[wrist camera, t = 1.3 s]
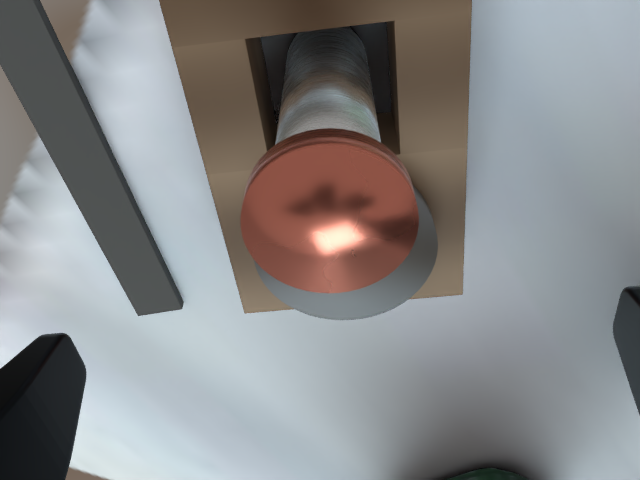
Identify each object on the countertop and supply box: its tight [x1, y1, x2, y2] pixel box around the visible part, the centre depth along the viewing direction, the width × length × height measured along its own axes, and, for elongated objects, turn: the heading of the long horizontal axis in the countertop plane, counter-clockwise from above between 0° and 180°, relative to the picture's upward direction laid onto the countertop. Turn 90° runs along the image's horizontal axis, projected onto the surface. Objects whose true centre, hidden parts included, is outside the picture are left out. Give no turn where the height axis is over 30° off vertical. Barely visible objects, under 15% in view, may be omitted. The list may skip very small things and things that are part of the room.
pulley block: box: [159, 0, 472, 320], centre depth 19 cm, size 12×8×4 cm, turn 7°
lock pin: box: [240, 26, 419, 293], centre depth 16 cm, size 4×4×9 cm
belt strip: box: [0, 0, 184, 316], centre depth 22 cm, size 14×2×1 cm, turn 12°
